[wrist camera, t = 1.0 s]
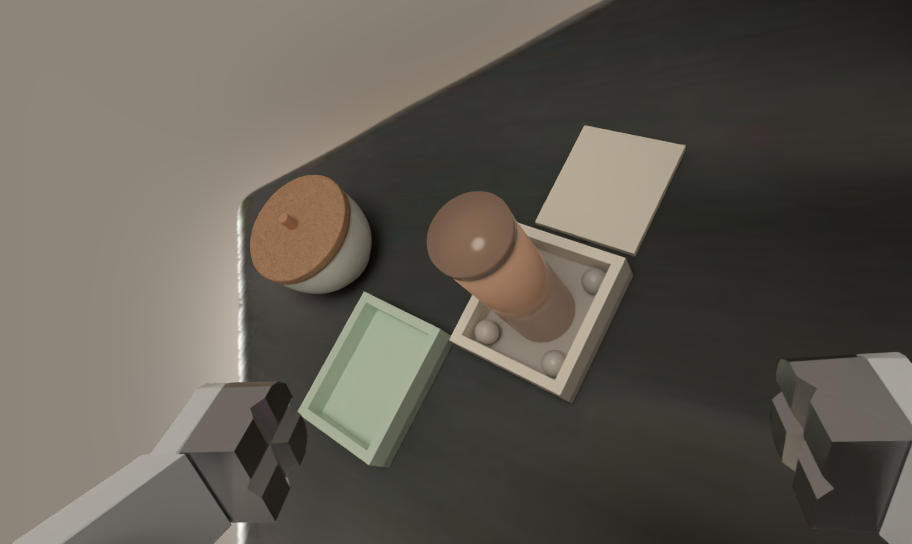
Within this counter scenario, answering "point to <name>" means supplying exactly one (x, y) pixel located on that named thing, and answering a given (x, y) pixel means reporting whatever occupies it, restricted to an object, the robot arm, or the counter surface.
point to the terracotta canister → (500, 265)
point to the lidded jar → (311, 237)
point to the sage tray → (376, 380)
